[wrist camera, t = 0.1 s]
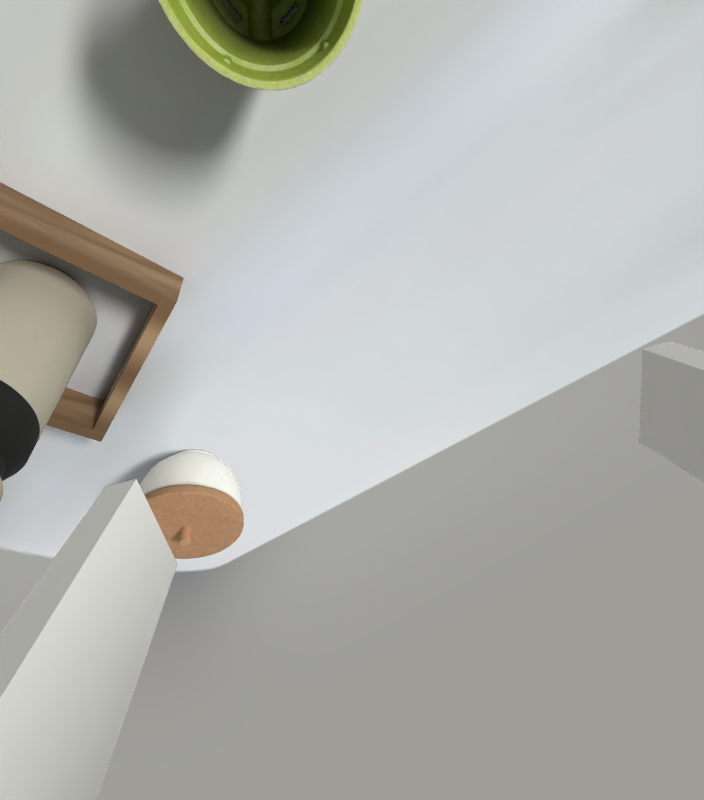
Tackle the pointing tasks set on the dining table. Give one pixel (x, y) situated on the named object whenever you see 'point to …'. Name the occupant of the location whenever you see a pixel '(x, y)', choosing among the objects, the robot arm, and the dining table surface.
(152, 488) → the lidded jar
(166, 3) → the plant pot
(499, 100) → the dining table surface
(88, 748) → the robot arm
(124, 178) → the dining table surface
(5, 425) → the travel mug
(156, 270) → the walnut frame
